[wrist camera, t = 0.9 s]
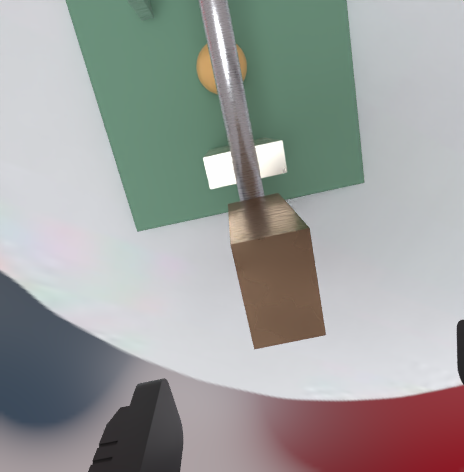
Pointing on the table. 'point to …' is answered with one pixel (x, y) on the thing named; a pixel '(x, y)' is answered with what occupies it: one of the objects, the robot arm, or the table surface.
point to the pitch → (207, 103)
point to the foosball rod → (259, 207)
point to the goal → (142, 8)
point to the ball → (206, 69)
